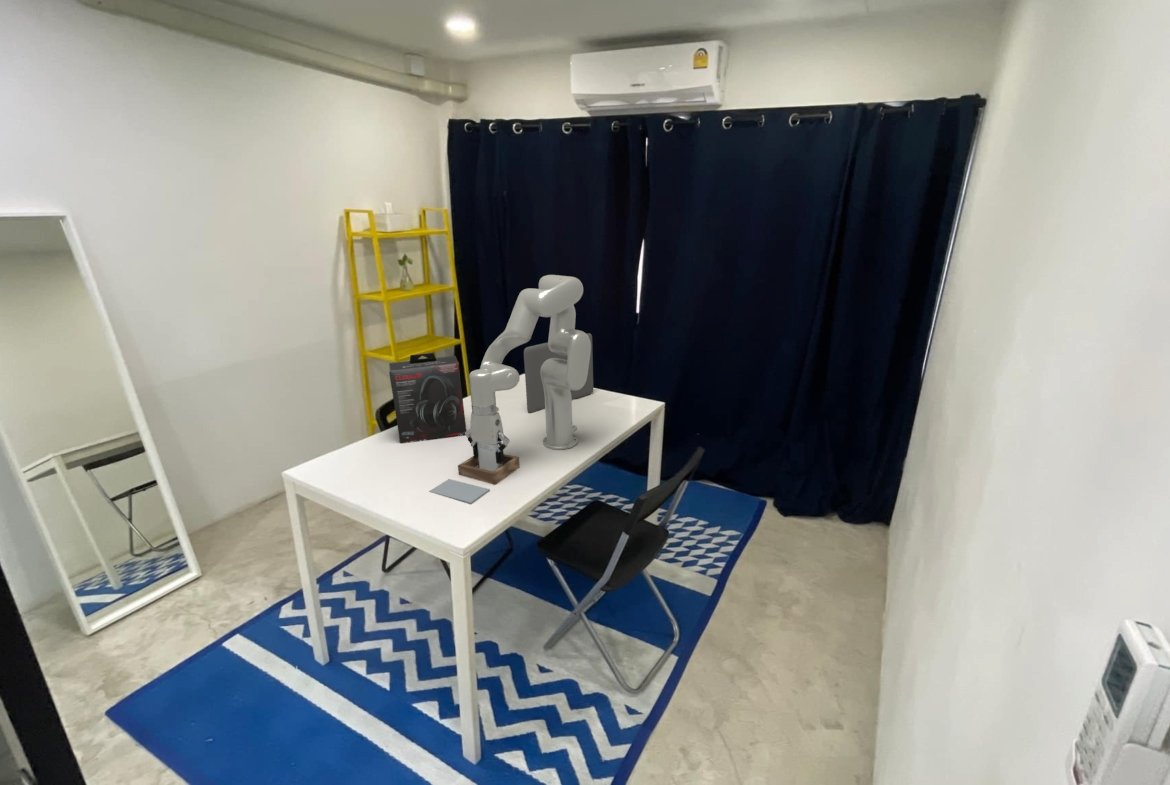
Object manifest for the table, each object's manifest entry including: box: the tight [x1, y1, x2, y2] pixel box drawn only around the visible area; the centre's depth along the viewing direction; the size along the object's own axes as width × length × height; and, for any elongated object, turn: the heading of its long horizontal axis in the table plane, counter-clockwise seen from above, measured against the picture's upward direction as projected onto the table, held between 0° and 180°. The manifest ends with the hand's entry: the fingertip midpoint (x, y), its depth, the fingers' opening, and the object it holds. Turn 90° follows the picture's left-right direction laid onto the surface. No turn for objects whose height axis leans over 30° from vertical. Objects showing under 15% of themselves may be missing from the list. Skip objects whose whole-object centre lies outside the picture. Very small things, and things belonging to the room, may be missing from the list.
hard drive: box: [477, 440, 501, 472], centre depth 180 cm, size 2×8×12 cm, turn 58°
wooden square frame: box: [457, 453, 521, 486], centre depth 181 cm, size 13×14×4 cm
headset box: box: [388, 352, 467, 444], centre depth 206 cm, size 24×13×33 cm, turn 109°
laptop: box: [523, 332, 594, 414], centre depth 247 cm, size 38×29×29 cm
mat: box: [428, 478, 491, 505], centre depth 169 cm, size 9×16×1 cm, turn 62°
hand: (488, 459), depth 180 cm, fingers closed on hard drive, 8 cm apart
